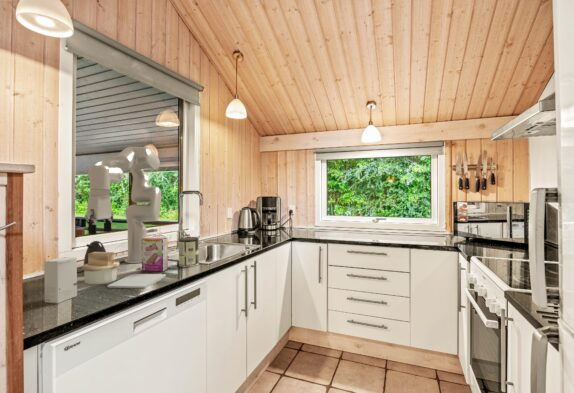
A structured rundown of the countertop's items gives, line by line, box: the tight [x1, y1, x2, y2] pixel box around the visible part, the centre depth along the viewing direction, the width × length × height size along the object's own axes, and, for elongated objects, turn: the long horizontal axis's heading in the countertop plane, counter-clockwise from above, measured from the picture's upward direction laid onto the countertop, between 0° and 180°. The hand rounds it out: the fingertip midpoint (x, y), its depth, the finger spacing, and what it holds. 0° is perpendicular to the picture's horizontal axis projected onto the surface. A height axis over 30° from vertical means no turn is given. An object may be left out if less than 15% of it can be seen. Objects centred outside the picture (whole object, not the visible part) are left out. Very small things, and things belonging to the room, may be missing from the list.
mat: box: [107, 273, 167, 290], centre depth 134 cm, size 18×16×1 cm
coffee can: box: [178, 236, 200, 268], centre depth 164 cm, size 10×10×14 cm
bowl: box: [83, 267, 118, 286], centre depth 135 cm, size 12×12×6 cm
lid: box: [81, 251, 120, 271], centre depth 135 cm, size 14×14×7 cm
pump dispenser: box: [82, 240, 107, 266], centre depth 149 cm, size 10×10×15 cm
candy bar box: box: [141, 236, 169, 273], centre depth 152 cm, size 11×5×16 cm, turn 84°
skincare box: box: [43, 256, 78, 304], centre depth 112 cm, size 8×6×15 cm
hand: (100, 232), depth 134 cm, fingers open, 9 cm apart
